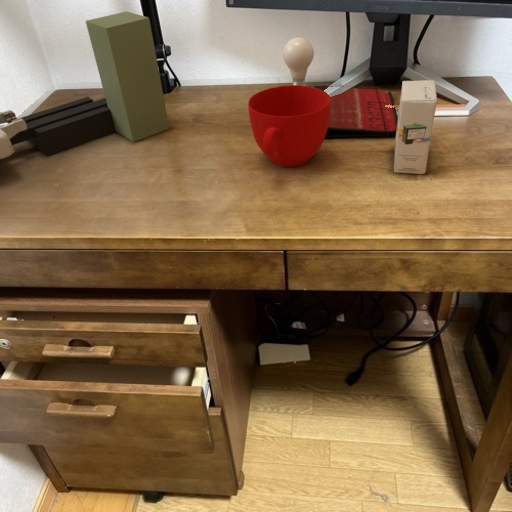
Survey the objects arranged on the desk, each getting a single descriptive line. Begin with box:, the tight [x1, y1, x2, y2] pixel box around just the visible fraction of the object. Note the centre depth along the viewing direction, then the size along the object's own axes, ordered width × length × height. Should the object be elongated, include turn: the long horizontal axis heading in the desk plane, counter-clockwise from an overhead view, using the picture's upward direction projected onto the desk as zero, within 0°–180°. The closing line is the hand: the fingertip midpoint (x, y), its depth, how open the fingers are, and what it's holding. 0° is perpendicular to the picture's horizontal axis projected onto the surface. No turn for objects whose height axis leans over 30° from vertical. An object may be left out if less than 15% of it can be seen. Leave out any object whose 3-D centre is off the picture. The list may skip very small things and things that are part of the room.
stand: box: [85, 11, 170, 143], centre depth 90 cm, size 8×8×20 cm
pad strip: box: [10, 97, 108, 146], centre depth 94 cm, size 3×24×2 cm, turn 130°
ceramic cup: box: [247, 84, 331, 168], centre depth 79 cm, size 13×17×10 cm
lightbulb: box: [282, 36, 315, 86], centre depth 104 cm, size 6×6×11 cm
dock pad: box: [20, 96, 116, 157], centre depth 95 cm, size 10×14×4 cm
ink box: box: [393, 79, 438, 175], centre depth 76 cm, size 8×5×12 cm, turn 167°
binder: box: [312, 85, 398, 138], centre depth 95 cm, size 16×2×21 cm
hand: (19, 119), depth 89 cm, fingers open, 4 cm apart
